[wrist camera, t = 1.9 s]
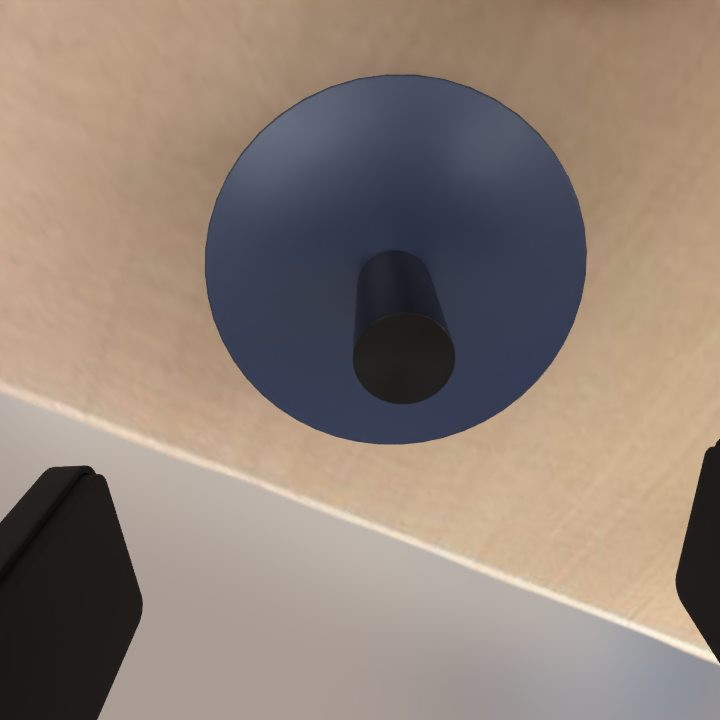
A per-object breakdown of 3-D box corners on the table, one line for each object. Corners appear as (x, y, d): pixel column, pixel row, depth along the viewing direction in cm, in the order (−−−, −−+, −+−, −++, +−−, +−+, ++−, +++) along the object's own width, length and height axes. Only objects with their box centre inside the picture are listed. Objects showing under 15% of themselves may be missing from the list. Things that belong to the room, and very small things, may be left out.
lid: (537, 9, 17) (641, -43, 10) (601, 379, 22) (696, 495, 16) (147, 157, 19) (32, 189, 12) (291, 464, 24) (263, 598, 18)
